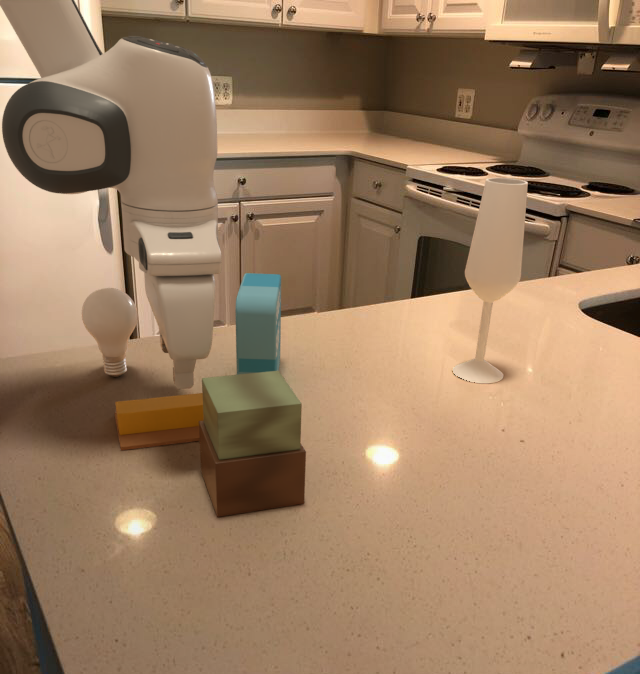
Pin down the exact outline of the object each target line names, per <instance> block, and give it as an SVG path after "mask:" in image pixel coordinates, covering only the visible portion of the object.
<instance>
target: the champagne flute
mask: <svg viewBox="0 0 640 674" xmlns="http://www.w3.org/2000/svg"><path fill="white" fill-rule="evenodd" d="M528 185H529V182H528V181H527V180H523V179H517V178H510V177H489V178H488V177H487V178H486V179H485V183H484V186H483V191H482V194H481V199H480V204H479V209H478V211H477V216H476V221H475V225H474V230H473V234H472V238H471V242H470V247H469V252H468V256H467V260H466V263H465V264H466V265H465V269H464V277H465V279H466V282H467V284H468V285H469V288H470V289H471V290H472V291H473V292H474V293H475V295H476V296H477V297H478V298H479V299H480V300H481V301H483V303H482V309H481V315H480V322H479V329H478V336H477V343H476V348H475V354H474V355H475V356H474V358H473V359H470V360H467V361H465V362H462V363H459V364H456V365H454V366H455V367H454V366H453V367H452V368H453V373H454V374H455V375H456V376H455V375H454V374H453V373H452V374H453V375H454V376H455V377H457V376H458V377H460V378H462V379H461V380H463V379H464V380H463V381H466V380H467V381H466V382H469V381H470V382H469V383H474V382H475V384H494V383H498V382H500V381H502V380H503V379H504V373H503V372H502V371H501V370H500V369H498V368H497V367H496V366H494V365H493V364H491V363H490V362H489V361H487V360H485V358H486V357H485V356H486V350H487V344H488V338H489V331H490V325H491V318H492V311H493V306H494V303H495V302H496V301H499V300H501V299H502V298H503V297H505V296H506V295H508V294H509V293H511V291H513V289H515V287H517V285H518V284H519V283H520V281H521V278H522V265H523V252H524V237H525V225H526V213H527V212H526V210H527V199H528V198H527V197H528ZM458 377H457V378H458ZM460 378H459V379H460Z"/></svg>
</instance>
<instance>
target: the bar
mask: <svg viewBox="0 0 640 674" xmlns="http://www.w3.org/2000/svg"><path fill="white" fill-rule="evenodd" d="M114 404H115V413H117V422H118V428H119V434H120V435H126V434H135V433H144V432H152V431H161V430H169V429H178V428H187V427H195V426H199V421H204V419H203V396H202V392H197V393H189V394H178V395H170V396H169V395H168V396H158V397H150V398H149V397H148V398H138V399H129V400H121V401H115V402H114Z"/></svg>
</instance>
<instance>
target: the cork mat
mask: <svg viewBox="0 0 640 674" xmlns="http://www.w3.org/2000/svg"><path fill="white" fill-rule="evenodd" d="M114 419H115V425H116V430H117V436H118V443H119V447H120V451H128V450H135V449H144V448H151V447H159V446H168V445H175V444H184V443H192V442H200V440H199V426H195V427H187V428H178V429H169V430H161V431H152V432H144V433H135V434H126V435H120V434H119V428H118V422H117V413H116V412H114Z"/></svg>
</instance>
